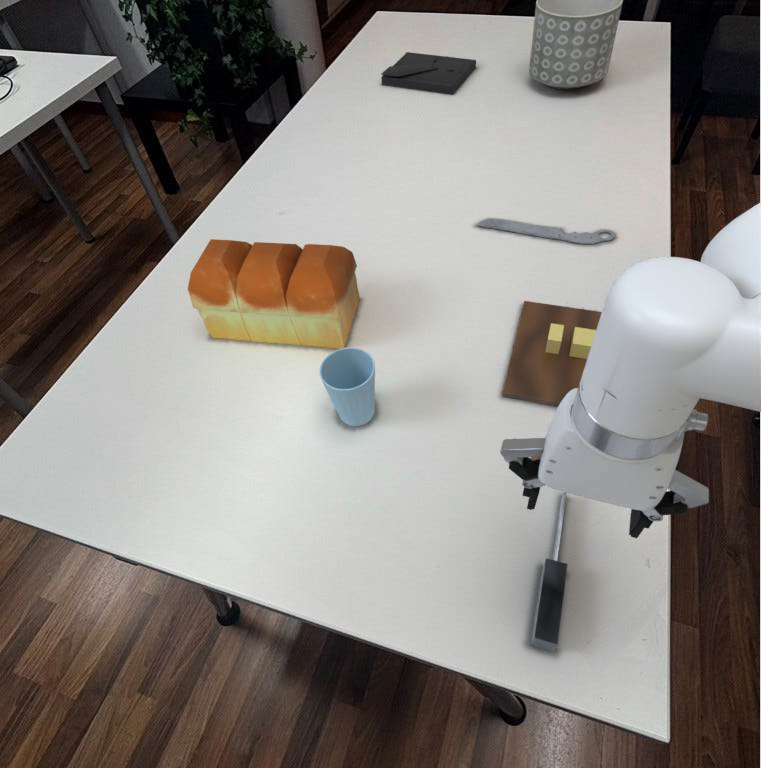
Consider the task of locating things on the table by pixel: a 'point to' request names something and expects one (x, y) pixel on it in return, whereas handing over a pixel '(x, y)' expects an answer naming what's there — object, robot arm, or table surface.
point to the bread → (276, 292)
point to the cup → (350, 384)
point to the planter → (573, 41)
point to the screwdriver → (550, 596)
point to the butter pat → (554, 338)
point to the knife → (544, 231)
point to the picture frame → (429, 73)
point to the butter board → (546, 354)
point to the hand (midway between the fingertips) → (582, 510)
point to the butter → (581, 342)
